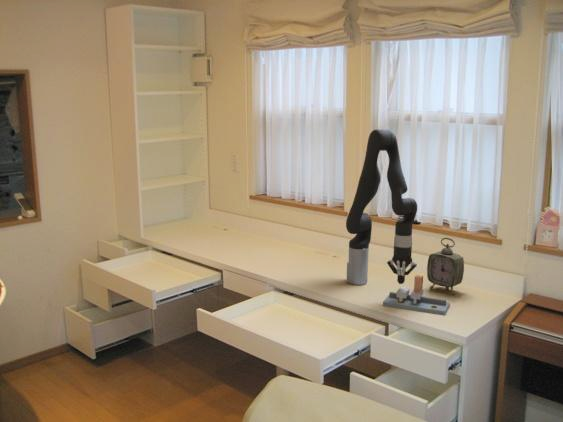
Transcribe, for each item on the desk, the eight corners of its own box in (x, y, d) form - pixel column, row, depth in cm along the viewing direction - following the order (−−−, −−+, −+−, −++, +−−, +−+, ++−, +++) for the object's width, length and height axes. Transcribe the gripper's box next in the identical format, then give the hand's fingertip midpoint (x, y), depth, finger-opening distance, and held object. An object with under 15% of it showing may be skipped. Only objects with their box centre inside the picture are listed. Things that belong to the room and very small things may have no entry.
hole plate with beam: (382, 305, 264) (383, 292, 263) (389, 296, 275) (390, 284, 274) (444, 314, 254) (445, 301, 253) (449, 305, 265) (450, 292, 264)
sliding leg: (409, 302, 262) (411, 279, 260) (413, 297, 268) (415, 274, 266) (419, 304, 260) (420, 280, 258) (423, 298, 267) (424, 275, 265)
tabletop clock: (425, 289, 286) (429, 236, 281) (436, 285, 292) (439, 233, 287) (453, 297, 276) (457, 242, 271) (464, 292, 282) (468, 239, 277)
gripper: (385, 244, 264) (383, 283, 267) (416, 248, 259) (414, 288, 262) (389, 241, 271) (388, 279, 274) (420, 244, 265) (418, 283, 269)
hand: (400, 283), depth 268 cm, fingers closed
